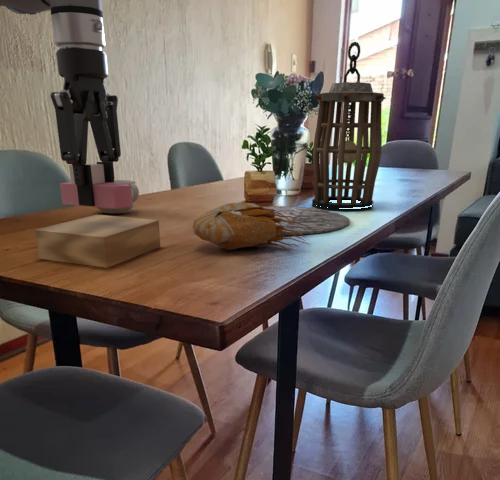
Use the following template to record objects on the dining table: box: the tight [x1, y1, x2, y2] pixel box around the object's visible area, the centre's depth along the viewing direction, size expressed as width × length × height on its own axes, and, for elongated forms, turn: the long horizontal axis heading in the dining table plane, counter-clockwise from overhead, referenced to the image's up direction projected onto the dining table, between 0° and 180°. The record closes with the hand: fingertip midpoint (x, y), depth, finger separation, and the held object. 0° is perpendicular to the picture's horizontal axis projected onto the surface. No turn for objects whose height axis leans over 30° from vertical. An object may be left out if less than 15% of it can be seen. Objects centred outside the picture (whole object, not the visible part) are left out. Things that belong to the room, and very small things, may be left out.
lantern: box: [311, 41, 387, 213], centre depth 133 cm, size 19×19×40 cm
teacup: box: [96, 179, 140, 214], centre depth 127 cm, size 14×11×8 cm
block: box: [35, 214, 161, 269], centre depth 90 cm, size 14×16×5 cm
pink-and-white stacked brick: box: [59, 162, 133, 209], centre depth 86 cm, size 12×5×6 cm, turn 67°
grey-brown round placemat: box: [264, 205, 351, 237], centre depth 121 cm, size 33×35×1 cm
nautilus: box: [192, 202, 311, 252], centre depth 93 cm, size 8×22×15 cm
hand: (97, 202), depth 88 cm, fingers closed on pink-and-white stacked brick, 5 cm apart
